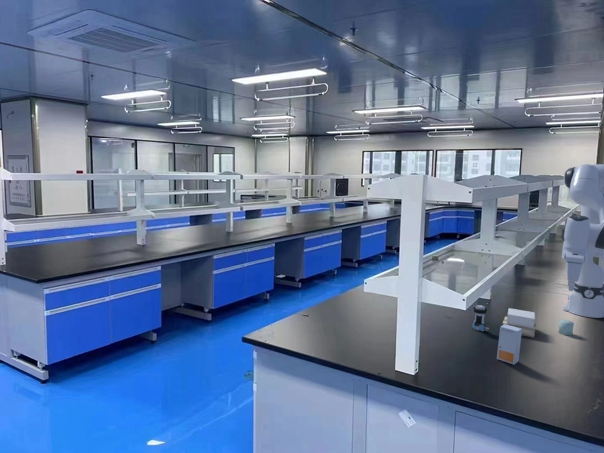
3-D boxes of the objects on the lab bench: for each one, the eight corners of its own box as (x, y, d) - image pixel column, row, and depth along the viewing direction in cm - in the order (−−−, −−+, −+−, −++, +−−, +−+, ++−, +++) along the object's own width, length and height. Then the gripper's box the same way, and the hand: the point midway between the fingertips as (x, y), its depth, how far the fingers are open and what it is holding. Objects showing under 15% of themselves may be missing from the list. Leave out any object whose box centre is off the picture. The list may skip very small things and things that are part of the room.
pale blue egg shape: (558, 330, 188) (559, 319, 187) (572, 333, 185) (573, 321, 185) (558, 334, 184) (559, 322, 183) (572, 336, 181) (573, 324, 181)
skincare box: (496, 359, 154) (499, 326, 153) (501, 356, 157) (504, 323, 156) (514, 365, 150) (517, 331, 149) (519, 361, 153) (522, 328, 152)
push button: (490, 330, 184) (492, 307, 183) (486, 333, 180) (488, 309, 179) (474, 326, 188) (476, 303, 187) (469, 329, 184) (471, 306, 183)
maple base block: (504, 324, 194) (505, 316, 194) (535, 330, 188) (536, 321, 188) (501, 332, 184) (502, 323, 183) (533, 339, 178) (535, 329, 177)
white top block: (507, 317, 192) (508, 308, 192) (533, 321, 188) (534, 312, 187) (506, 323, 183) (507, 314, 183) (533, 328, 179) (534, 318, 178)
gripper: (565, 251, 191) (561, 282, 193) (565, 257, 174) (561, 292, 175) (582, 253, 188) (578, 284, 190) (584, 259, 170) (580, 294, 172)
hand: (570, 288), depth 182 cm, fingers open, 8 cm apart
